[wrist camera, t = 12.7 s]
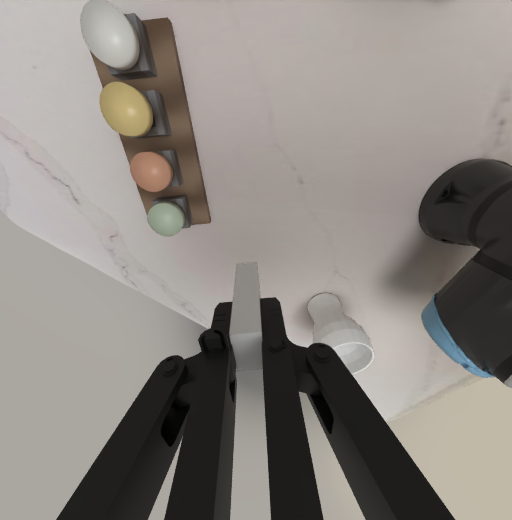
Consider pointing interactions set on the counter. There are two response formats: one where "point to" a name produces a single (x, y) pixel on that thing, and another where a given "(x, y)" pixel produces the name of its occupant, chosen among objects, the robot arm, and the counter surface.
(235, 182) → the counter surface
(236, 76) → the counter surface
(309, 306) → the cup
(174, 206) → the sage button
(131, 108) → the ochre button
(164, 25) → the panel
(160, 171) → the terracotta button
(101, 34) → the grey button
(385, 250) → the counter surface
